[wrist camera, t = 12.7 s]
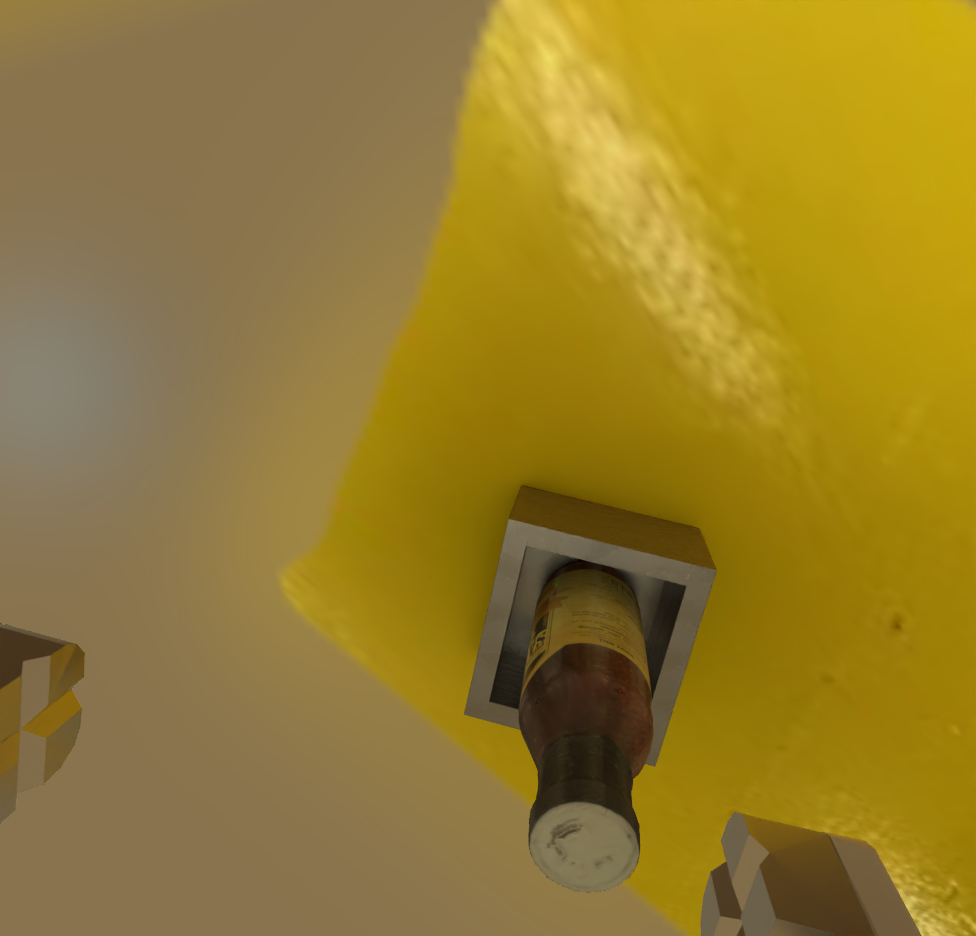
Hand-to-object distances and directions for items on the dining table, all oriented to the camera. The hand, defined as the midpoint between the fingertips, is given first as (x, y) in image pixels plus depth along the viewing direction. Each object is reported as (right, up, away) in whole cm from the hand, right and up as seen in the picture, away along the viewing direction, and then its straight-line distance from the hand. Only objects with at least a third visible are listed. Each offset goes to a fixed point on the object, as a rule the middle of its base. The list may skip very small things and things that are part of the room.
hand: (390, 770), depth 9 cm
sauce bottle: (+7, -5, +37) cm, 38 cm away
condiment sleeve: (+7, -4, +37) cm, 38 cm away
